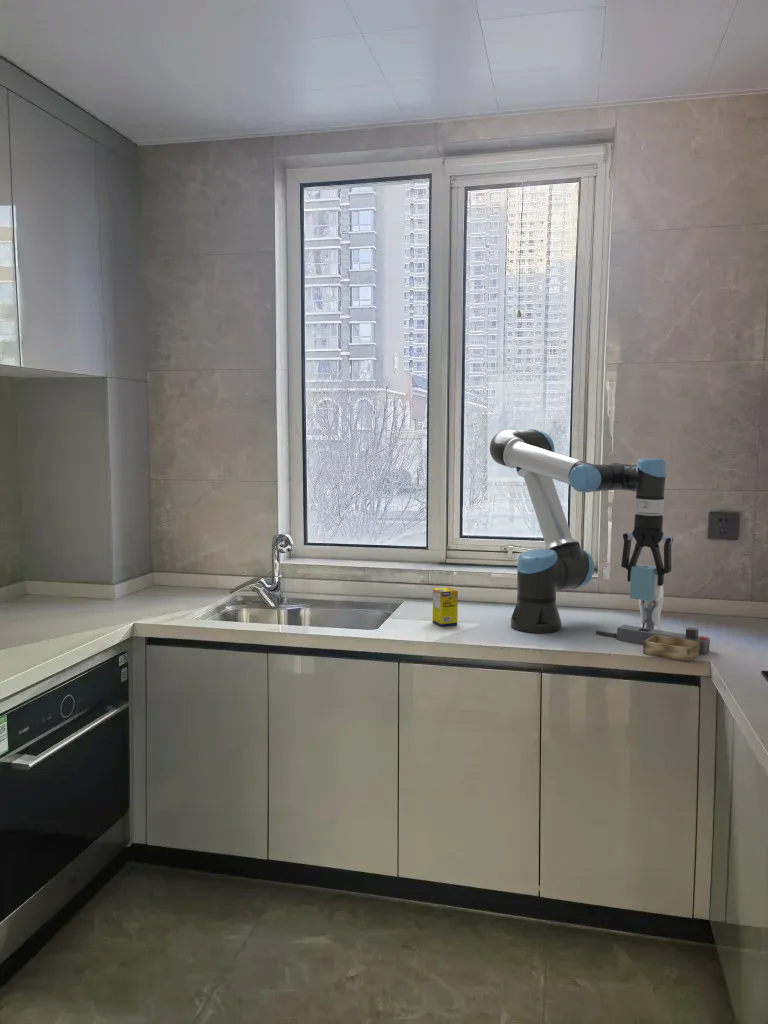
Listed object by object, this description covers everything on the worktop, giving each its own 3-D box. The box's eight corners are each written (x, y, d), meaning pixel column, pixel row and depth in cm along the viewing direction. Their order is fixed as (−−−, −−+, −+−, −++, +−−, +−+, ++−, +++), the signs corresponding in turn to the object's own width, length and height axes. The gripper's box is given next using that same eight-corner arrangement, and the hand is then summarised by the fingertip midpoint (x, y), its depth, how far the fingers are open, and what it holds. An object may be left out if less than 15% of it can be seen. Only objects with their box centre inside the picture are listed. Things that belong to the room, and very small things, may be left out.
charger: (629, 607, 217) (631, 566, 215) (637, 603, 221) (639, 563, 220) (650, 610, 213) (652, 569, 212) (658, 606, 218) (660, 566, 216)
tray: (643, 653, 206) (643, 641, 205) (654, 646, 213) (655, 634, 212) (689, 662, 198) (689, 648, 198) (699, 654, 205) (700, 641, 205)
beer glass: (632, 629, 232) (634, 580, 230) (651, 627, 234) (653, 579, 233) (648, 635, 225) (650, 585, 224) (667, 633, 228) (669, 583, 226)
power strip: (592, 635, 225) (592, 615, 224) (598, 632, 228) (599, 612, 228) (703, 654, 205) (704, 633, 205) (709, 650, 209) (710, 629, 208)
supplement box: (457, 625, 237) (458, 590, 235) (440, 626, 234) (440, 591, 233) (449, 620, 242) (449, 586, 241) (432, 622, 240) (432, 588, 239)
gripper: (610, 512, 217) (606, 592, 220) (679, 518, 205) (674, 602, 208) (621, 510, 223) (616, 588, 225) (688, 515, 211) (682, 597, 214)
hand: (644, 594), depth 217 cm, fingers closed on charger, 6 cm apart
